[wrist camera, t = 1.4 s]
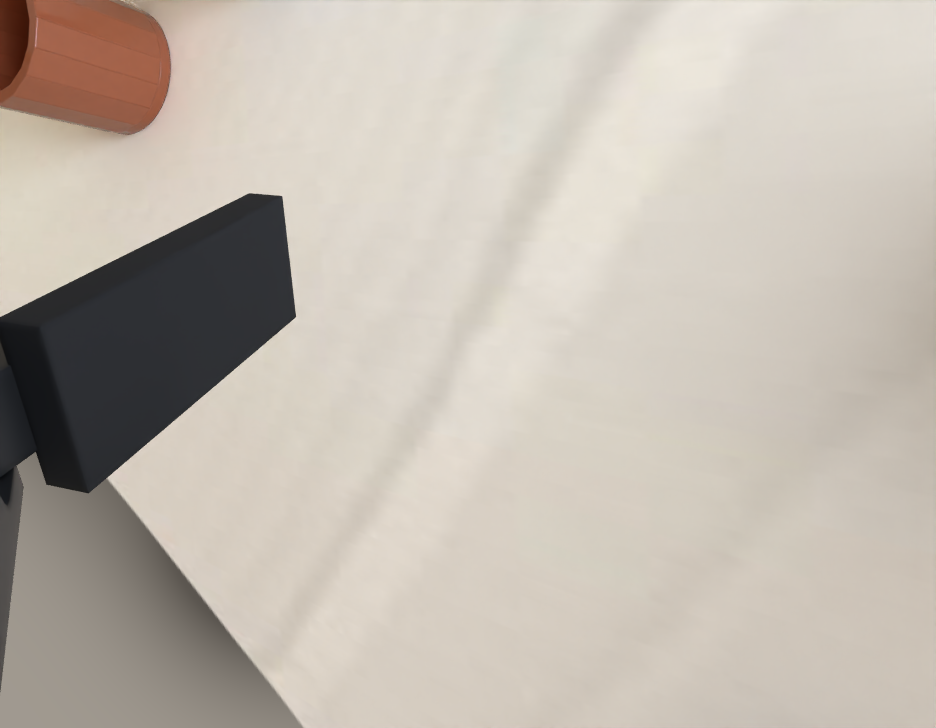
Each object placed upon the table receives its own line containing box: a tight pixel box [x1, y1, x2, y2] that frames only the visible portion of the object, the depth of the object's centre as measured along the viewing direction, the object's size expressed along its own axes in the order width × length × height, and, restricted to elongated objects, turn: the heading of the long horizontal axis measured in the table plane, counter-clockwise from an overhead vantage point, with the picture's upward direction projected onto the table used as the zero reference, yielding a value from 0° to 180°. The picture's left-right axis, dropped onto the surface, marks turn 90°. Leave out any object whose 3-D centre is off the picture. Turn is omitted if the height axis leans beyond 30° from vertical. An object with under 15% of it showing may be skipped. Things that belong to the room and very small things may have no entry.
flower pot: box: [0, 0, 170, 134], centre depth 47 cm, size 8×8×9 cm
